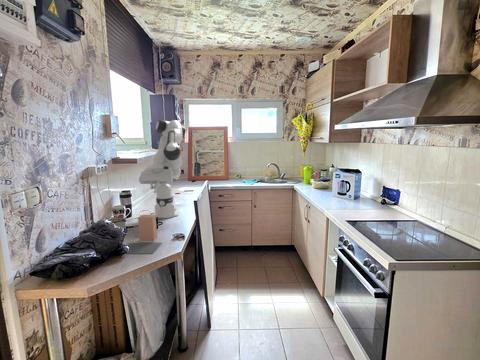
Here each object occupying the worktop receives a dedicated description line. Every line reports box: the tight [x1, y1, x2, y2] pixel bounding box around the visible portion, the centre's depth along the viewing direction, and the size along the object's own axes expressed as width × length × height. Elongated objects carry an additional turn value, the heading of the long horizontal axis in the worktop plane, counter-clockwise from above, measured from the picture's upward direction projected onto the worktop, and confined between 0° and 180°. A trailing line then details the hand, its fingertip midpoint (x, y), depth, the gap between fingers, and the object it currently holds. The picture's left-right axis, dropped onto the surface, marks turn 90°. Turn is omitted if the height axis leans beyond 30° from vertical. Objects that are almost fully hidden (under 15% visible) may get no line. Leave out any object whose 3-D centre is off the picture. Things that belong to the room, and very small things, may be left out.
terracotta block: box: [137, 214, 158, 243], centre depth 145 cm, size 5×8×14 cm, turn 88°
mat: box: [124, 242, 163, 255], centre depth 136 cm, size 14×18×1 cm
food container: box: [107, 217, 127, 229], centre depth 153 cm, size 12×6×10 cm, turn 141°
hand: (153, 188), depth 155 cm, fingers closed
